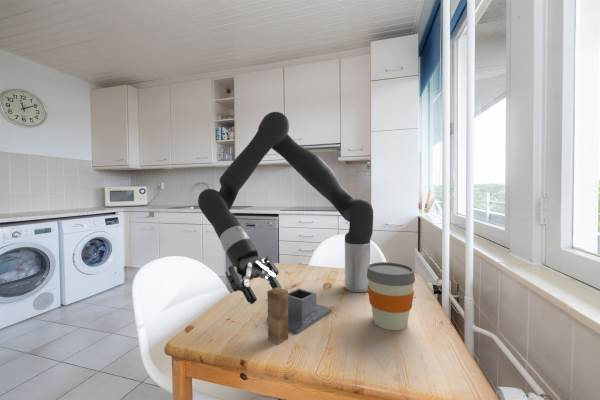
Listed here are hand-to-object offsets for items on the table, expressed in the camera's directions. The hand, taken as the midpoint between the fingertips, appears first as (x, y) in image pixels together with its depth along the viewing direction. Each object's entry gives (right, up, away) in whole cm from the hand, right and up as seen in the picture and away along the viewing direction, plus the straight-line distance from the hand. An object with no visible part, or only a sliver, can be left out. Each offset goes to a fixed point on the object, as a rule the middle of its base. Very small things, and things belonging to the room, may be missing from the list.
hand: (267, 296), depth 68 cm
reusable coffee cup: (+33, -9, +6) cm, 35 cm away
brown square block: (+3, -10, -2) cm, 10 cm away
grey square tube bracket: (+8, -9, +10) cm, 16 cm away
